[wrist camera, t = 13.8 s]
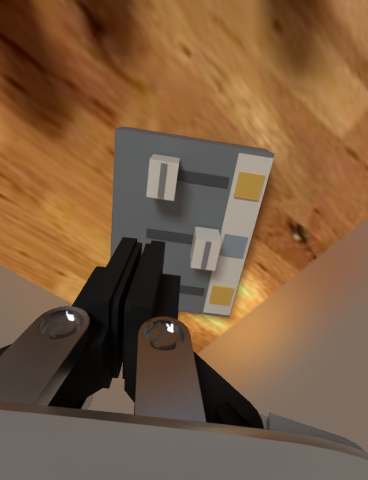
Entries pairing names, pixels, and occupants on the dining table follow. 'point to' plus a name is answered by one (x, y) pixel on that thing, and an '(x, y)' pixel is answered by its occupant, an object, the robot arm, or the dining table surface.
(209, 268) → the slider
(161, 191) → the slider
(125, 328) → the robot arm
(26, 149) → the dining table surface
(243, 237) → the console
